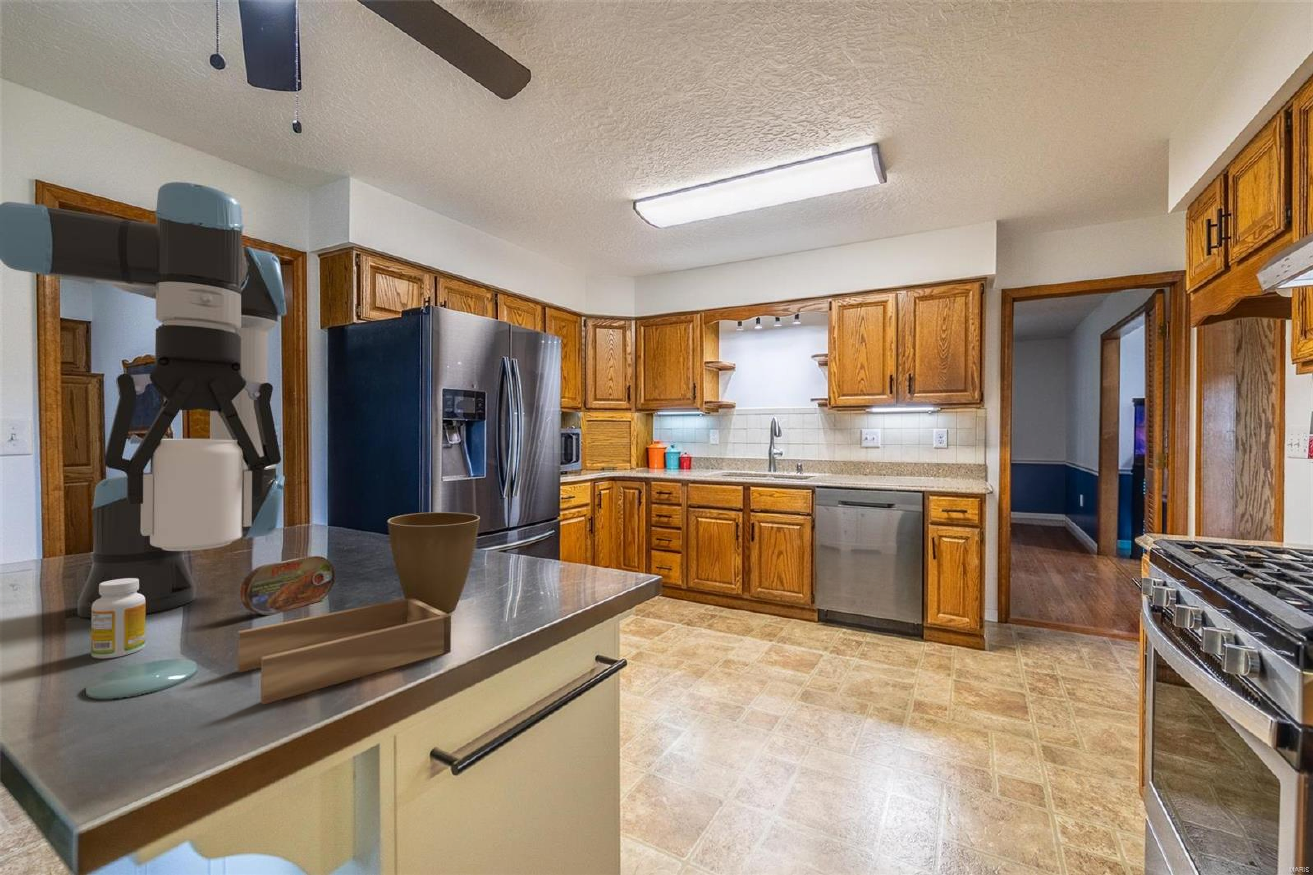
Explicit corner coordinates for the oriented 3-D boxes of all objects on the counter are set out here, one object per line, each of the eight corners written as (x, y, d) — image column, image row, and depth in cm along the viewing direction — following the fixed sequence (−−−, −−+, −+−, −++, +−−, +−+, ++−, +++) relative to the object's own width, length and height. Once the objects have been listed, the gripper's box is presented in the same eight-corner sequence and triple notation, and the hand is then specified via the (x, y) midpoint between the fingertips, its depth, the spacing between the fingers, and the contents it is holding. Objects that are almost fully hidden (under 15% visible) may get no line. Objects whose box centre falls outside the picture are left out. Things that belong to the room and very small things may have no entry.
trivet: (84, 680, 69) (84, 675, 69) (190, 657, 76) (190, 653, 76) (87, 708, 62) (87, 702, 62) (203, 680, 69) (203, 675, 69)
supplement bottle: (144, 642, 81) (144, 574, 81) (146, 652, 78) (146, 581, 78) (91, 651, 78) (92, 581, 78) (90, 663, 74) (91, 588, 74)
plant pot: (366, 616, 94) (366, 520, 94) (433, 594, 107) (434, 510, 107) (435, 629, 88) (436, 526, 88) (496, 603, 102) (497, 515, 102)
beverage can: (190, 554, 59) (191, 440, 59) (129, 550, 61) (130, 439, 61) (259, 540, 67) (260, 439, 67) (203, 536, 69) (204, 438, 69)
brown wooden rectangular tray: (237, 670, 72) (238, 631, 72) (410, 629, 88) (411, 597, 88) (263, 704, 63) (263, 659, 63) (450, 651, 79) (451, 615, 79)
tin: (248, 621, 91) (248, 569, 91) (236, 618, 92) (237, 567, 92) (336, 598, 105) (336, 552, 105) (325, 595, 106) (325, 551, 106)
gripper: (66, 308, 54) (65, 546, 54) (314, 337, 69) (312, 523, 69) (66, 318, 59) (64, 535, 59) (296, 343, 74) (294, 516, 74)
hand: (198, 529), depth 64 cm, fingers closed on beverage can, 8 cm apart
